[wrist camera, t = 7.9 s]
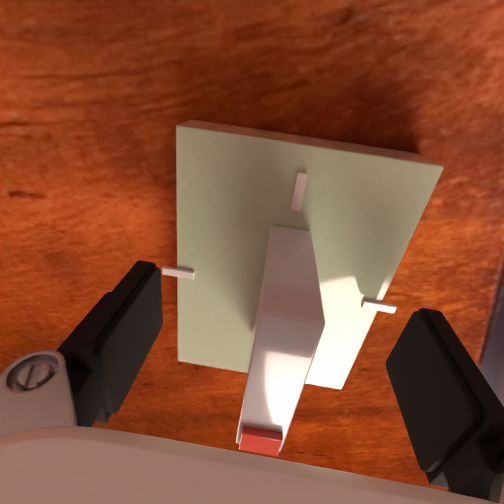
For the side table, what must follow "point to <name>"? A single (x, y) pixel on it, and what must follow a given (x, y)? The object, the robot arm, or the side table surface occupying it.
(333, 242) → the panel
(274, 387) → the tap handle
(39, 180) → the side table surface
